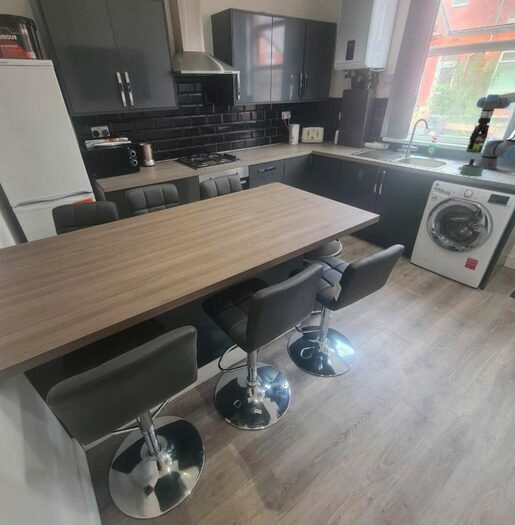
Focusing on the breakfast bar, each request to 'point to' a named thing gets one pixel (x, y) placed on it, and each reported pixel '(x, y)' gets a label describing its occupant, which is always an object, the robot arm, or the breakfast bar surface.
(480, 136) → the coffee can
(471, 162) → the pot lid
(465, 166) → the pot
